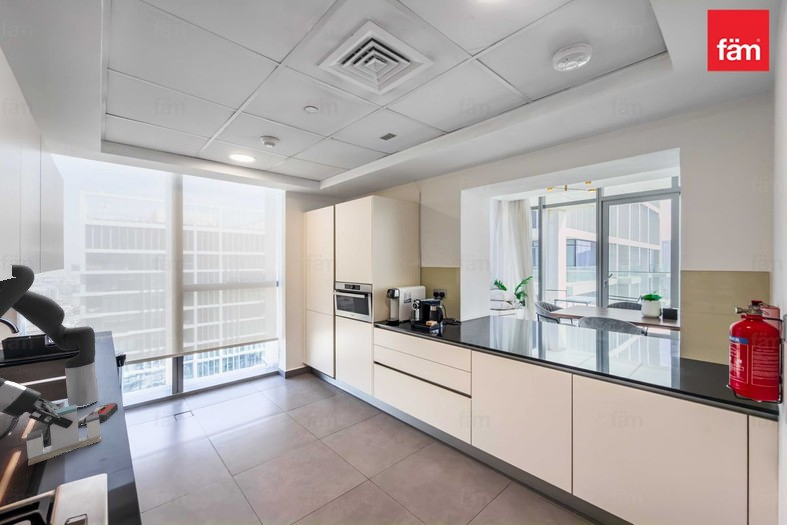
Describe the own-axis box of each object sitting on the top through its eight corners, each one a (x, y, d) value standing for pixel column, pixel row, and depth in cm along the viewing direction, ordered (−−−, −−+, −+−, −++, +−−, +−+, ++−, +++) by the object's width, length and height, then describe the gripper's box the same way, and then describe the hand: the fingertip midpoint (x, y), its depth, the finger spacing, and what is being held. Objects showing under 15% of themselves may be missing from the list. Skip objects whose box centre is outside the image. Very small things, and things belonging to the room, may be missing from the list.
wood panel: (30, 456, 100) (29, 454, 100) (99, 433, 111) (99, 431, 111) (28, 465, 95) (27, 463, 95) (101, 440, 106) (101, 438, 106)
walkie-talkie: (93, 413, 129) (63, 438, 111) (92, 402, 129) (62, 425, 111) (120, 408, 133) (95, 431, 114) (119, 397, 132) (94, 419, 114)
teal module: (52, 445, 102) (49, 411, 102) (79, 437, 107) (76, 404, 106) (52, 450, 99) (48, 415, 99) (79, 442, 103) (76, 408, 103)
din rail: (30, 454, 99) (30, 452, 99) (98, 432, 110) (98, 430, 110) (29, 461, 96) (28, 458, 96) (100, 437, 107) (99, 435, 107)
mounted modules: (29, 453, 99) (27, 433, 99) (99, 430, 110) (98, 413, 110) (28, 458, 96) (26, 438, 96) (100, 434, 107) (99, 416, 107)
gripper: (22, 392, 92) (81, 415, 101) (27, 381, 102) (80, 403, 111) (-5, 418, 89) (59, 440, 97) (2, 404, 99) (59, 425, 107)
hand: (70, 420), depth 104 cm, fingers open, 8 cm apart
